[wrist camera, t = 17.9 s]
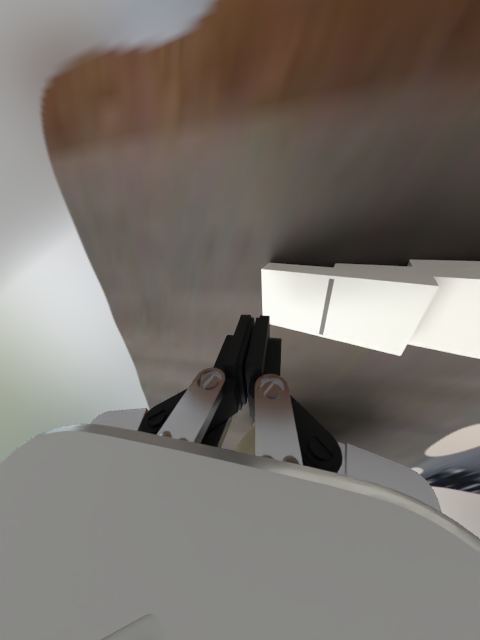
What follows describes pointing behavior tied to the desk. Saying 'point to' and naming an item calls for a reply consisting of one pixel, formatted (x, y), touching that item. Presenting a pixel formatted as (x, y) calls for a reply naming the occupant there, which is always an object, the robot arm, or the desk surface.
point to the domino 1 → (347, 303)
